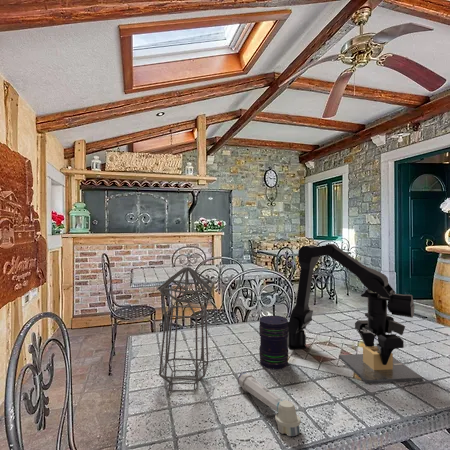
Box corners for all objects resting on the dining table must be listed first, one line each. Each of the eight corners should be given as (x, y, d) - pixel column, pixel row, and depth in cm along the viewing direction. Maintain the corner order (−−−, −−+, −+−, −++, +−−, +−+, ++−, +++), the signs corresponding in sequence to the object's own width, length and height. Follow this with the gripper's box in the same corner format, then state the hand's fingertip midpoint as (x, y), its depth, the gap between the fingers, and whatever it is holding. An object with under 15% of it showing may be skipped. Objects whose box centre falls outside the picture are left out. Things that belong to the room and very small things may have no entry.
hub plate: (365, 383, 92) (365, 365, 92) (338, 357, 110) (338, 342, 110) (423, 380, 93) (423, 362, 93) (387, 355, 111) (387, 340, 111)
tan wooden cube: (381, 360, 105) (380, 344, 105) (392, 369, 99) (392, 352, 99) (363, 361, 105) (362, 345, 105) (373, 370, 98) (373, 352, 98)
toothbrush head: (250, 370, 93) (303, 401, 70) (252, 393, 92) (306, 432, 70) (234, 373, 91) (284, 407, 68) (236, 398, 90) (287, 439, 67)
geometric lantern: (164, 371, 100) (167, 263, 101) (212, 373, 100) (215, 264, 100) (151, 397, 85) (154, 269, 85) (208, 399, 84) (211, 271, 85)
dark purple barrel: (256, 367, 103) (255, 322, 103) (262, 355, 112) (262, 314, 112) (286, 371, 100) (285, 325, 100) (290, 359, 109) (290, 316, 109)
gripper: (420, 319, 93) (420, 371, 93) (383, 304, 112) (384, 347, 112) (385, 320, 92) (385, 373, 92) (354, 304, 111) (354, 348, 111)
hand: (377, 359), depth 102 cm, fingers open, 8 cm apart
